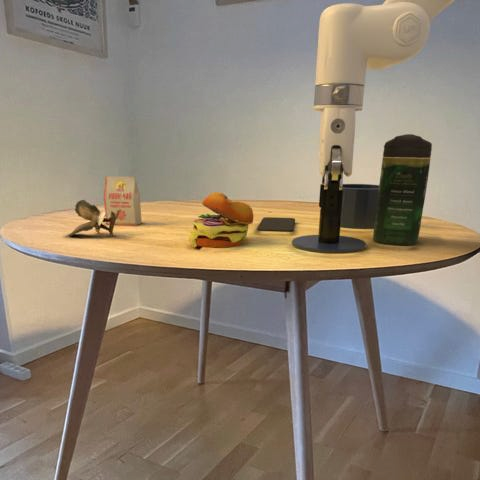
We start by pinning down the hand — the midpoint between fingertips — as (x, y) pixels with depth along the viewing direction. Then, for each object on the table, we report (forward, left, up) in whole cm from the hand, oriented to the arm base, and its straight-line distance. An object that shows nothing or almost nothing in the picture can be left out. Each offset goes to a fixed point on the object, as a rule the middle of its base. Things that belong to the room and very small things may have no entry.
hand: (329, 211), depth 79 cm
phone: (+10, -19, -6) cm, 22 cm away
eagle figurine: (+45, -5, -7) cm, 45 cm away
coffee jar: (-13, -6, -7) cm, 16 cm away
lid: (0, 0, -6) cm, 6 cm away
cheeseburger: (+19, 0, -7) cm, 20 cm away
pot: (-7, -23, -6) cm, 25 cm away
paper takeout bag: (+44, -19, -7) cm, 48 cm away
